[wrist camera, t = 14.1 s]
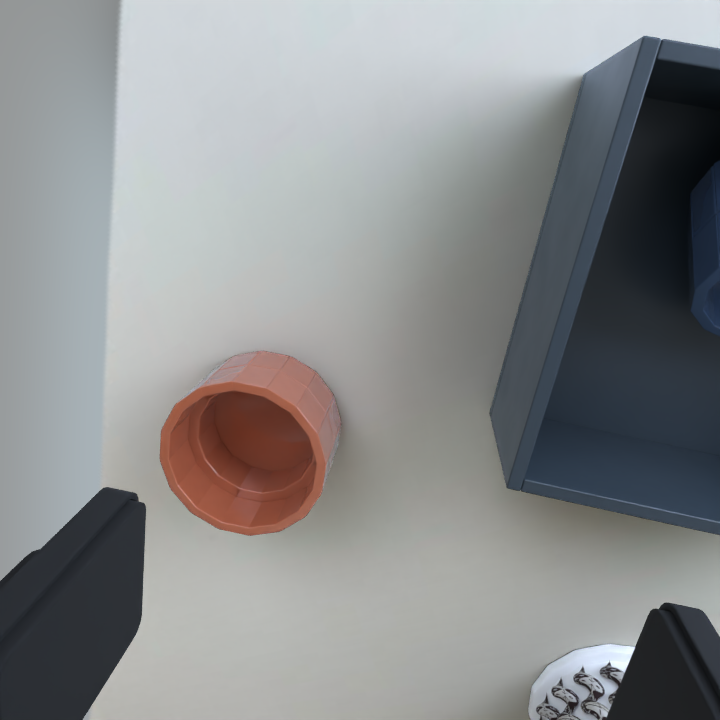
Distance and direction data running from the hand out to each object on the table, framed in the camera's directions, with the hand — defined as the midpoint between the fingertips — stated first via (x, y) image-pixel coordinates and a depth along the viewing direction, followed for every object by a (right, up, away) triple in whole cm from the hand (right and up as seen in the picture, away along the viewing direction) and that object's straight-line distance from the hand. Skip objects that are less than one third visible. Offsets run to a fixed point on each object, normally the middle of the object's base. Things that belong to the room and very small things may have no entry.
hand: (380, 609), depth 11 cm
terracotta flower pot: (-5, +2, +17) cm, 18 cm away
